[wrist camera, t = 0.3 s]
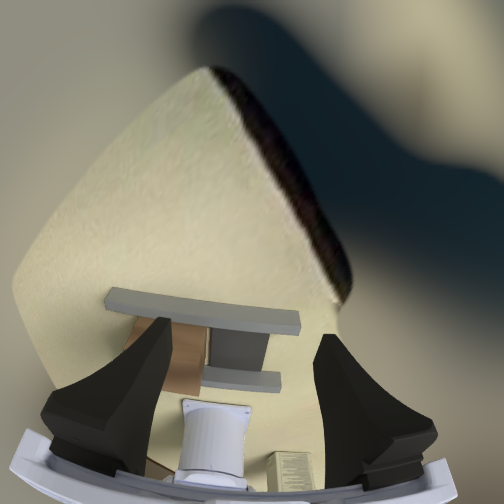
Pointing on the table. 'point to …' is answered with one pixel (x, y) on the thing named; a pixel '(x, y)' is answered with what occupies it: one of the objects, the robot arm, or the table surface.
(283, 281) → the table surface
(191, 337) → the walnut block
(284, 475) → the skincare box
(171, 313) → the channel
